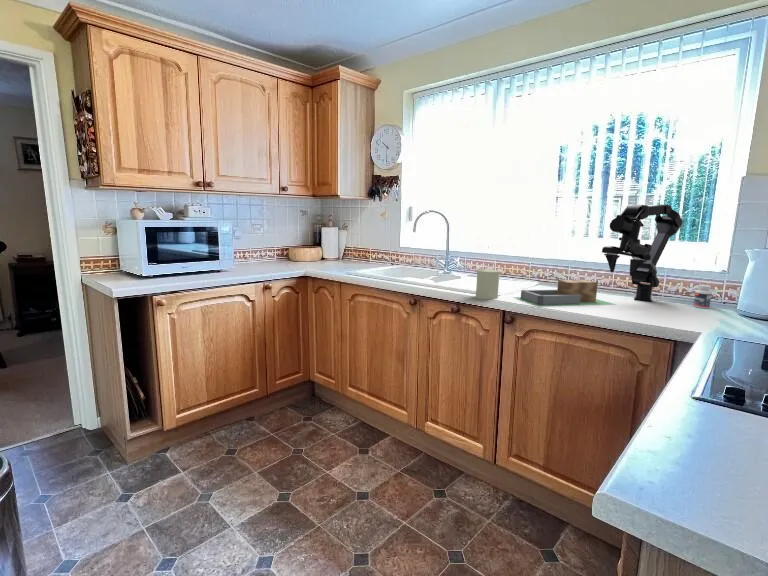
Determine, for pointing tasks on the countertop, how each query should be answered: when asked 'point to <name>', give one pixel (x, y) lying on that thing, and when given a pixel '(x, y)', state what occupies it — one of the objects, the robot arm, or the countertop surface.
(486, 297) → the can
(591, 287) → the walnut block
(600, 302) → the mat
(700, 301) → the pill bottle
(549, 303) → the grey tray
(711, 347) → the countertop surface
